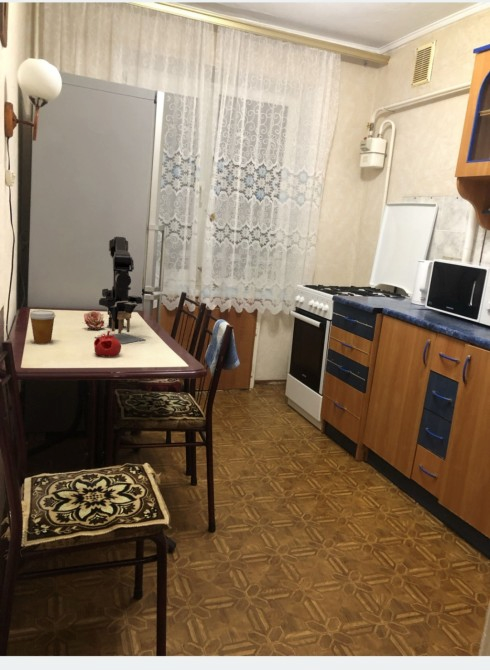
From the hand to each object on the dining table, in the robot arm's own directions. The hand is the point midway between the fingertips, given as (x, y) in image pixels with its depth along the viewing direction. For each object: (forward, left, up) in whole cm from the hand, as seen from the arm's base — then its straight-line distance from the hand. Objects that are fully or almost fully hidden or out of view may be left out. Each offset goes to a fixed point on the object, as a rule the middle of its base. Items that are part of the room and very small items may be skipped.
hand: (120, 321), depth 215 cm
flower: (-3, -22, -8) cm, 24 cm away
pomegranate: (+20, +17, -8) cm, 28 cm away
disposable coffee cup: (+28, -13, -8) cm, 32 cm away
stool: (0, 0, -4) cm, 5 cm away
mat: (0, 0, -8) cm, 8 cm away
